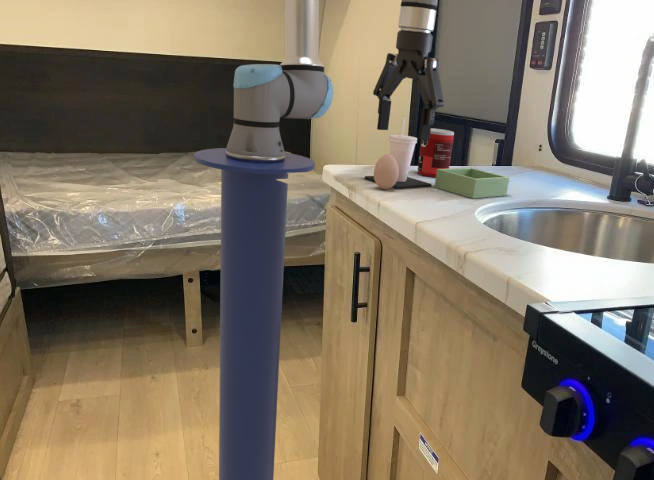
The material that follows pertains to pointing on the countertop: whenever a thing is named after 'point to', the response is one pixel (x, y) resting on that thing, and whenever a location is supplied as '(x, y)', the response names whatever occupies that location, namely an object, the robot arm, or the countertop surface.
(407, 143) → the smoothie
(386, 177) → the egg
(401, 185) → the drinks pad
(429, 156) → the canned food
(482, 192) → the bin
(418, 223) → the countertop surface
